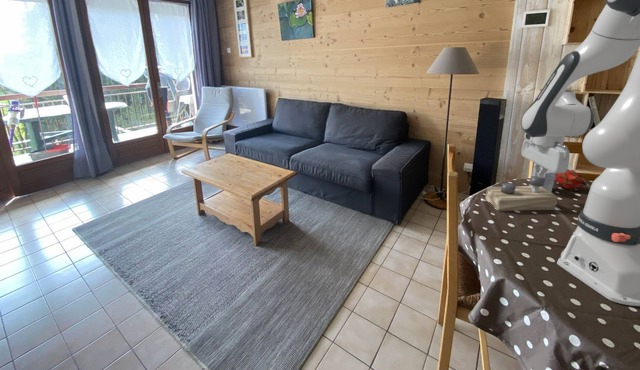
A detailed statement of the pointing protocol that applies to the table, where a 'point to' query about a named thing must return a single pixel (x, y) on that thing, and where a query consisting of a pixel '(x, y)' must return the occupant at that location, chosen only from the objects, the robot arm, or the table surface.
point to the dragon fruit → (570, 180)
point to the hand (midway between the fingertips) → (538, 176)
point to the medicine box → (547, 180)
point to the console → (521, 199)
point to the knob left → (508, 188)
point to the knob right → (536, 183)
